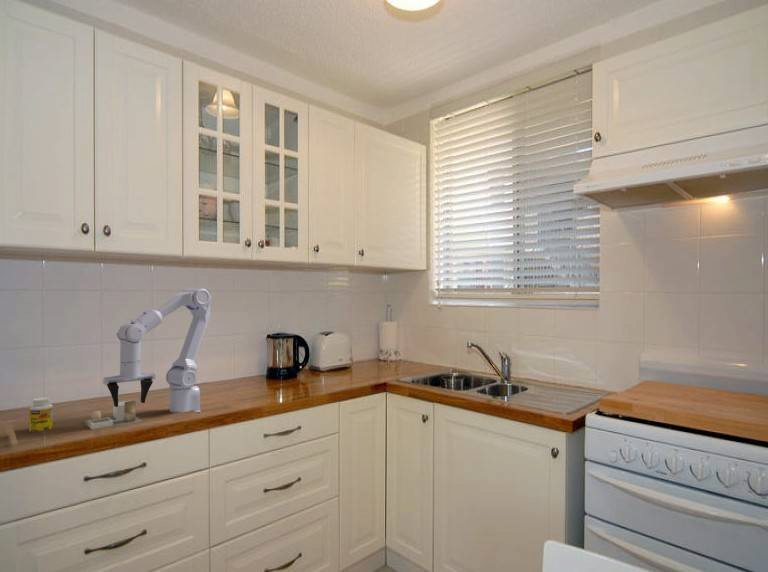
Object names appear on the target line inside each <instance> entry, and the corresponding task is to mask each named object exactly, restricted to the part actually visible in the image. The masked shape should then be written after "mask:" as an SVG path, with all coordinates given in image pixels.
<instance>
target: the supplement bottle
mask: <svg viewBox="0 0 768 572" xmlns="http://www.w3.org/2000/svg"><path fill="white" fill-rule="evenodd" d="M50 399H51V398H50V397H38V398H33V401H32V405H31V406H30V407H29V420H28V422H29V423H28V425H29V427H28V428H29V429H28V431H29V432H30V433H37V432H45V431H49V430H52V429H53V414H54V413H53V412H54V411H53V409H54V405H53V404H52V403H50V402H51V401H50Z"/></svg>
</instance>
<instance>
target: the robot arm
mask: <svg viewBox="0 0 768 572" xmlns="http://www.w3.org/2000/svg"><path fill="white" fill-rule="evenodd" d="M212 299H213V298H212V296H211V294H210V293H209V291H208V290H207V289H205V288H184V289H183V290H182V291H180V292H178V293H177V294H176V295H175V296H173V297H171V298H170V299H169V300H168V301H167V302H165V303H163V304H162V305H160V307H158V308H157V309H156V310H155V309H149V310H148V309H145V310H144V311H142V313H143V314H141V315H140V316H138V317H136V318H133V319H131V320H130V323H124V324H123V325H121V326H120V327H119V329H118V332H116V338H117V339H118V340H119V341H120V351H119V354H120V355H119V375H112V376H106V377H103V379H102V380H103V381H102V383H103V385H106V386H107V389H108V391H109V392H110V394H111V397H112V401H113V402H112V403H114V406H115V407H118V402H119V384H118V383H127V382H137V381H140V403H141V404H145V403H146V399H147V395H148V393H149V390H150V389H151V386H152V385H153V382H154V381H153V380H156V373H155V372H145V373H144V372H143V373H142V372H141V359H142V358H141V356H142V355H141V354H142V353H141V350H142V349H141V347H142V344H141V343H142V341H143V339H144V338H145V336H146V335H147V334H148V333H149V332H151V331H153V329H155V328H157V327H158V326H159V325H161V324H162V321H163V318H165V317H167V316H168V315H169V314H171V313H173V312H175V311H176V310H178V309H179V308H181V307H185V308H186V309H188V311H189V312H190V313H191V315H192V319H191V322H190V324H189V325H190V326H189V328H188V331H187V333H186V337H185V340H184V343H183V345H182V347H181V350H180V353H179V357H178V358H177V359H176V360H175V361H174V362H172V365H171V367H170V368H169V370H167V372H166V375H165V380H166V383H167V384H168V386H169V412H170V413H174V414H175V413H177V414H178V413H185V412H190V411H193V412H196V413H198V412H199V413H201V391H200V388H199V386H197V385H195V383H196V382H197V371H198V366H197V364H196V359H197V357H198V356H197V355H198V353H199V351H200V347H201V344H202V341H203V339H204V335H205V333H206V329H207V327H208V324H209V321H210V318H211V303H212Z"/></svg>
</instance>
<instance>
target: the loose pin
mask: <svg viewBox="0 0 768 572" xmlns="http://www.w3.org/2000/svg"><path fill="white" fill-rule="evenodd" d="M126 401H127V402H125V407H124V422H133V421H135V416H136V401H135V400H126Z"/></svg>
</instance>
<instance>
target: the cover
mask: <svg viewBox="0 0 768 572" xmlns="http://www.w3.org/2000/svg"><path fill="white" fill-rule="evenodd" d="M127 401H128V400H126V401H118V407H115V406H114V402H112V416H113V417H114V418H115V419H117V420H118V419H124V407H125V402H127Z"/></svg>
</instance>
